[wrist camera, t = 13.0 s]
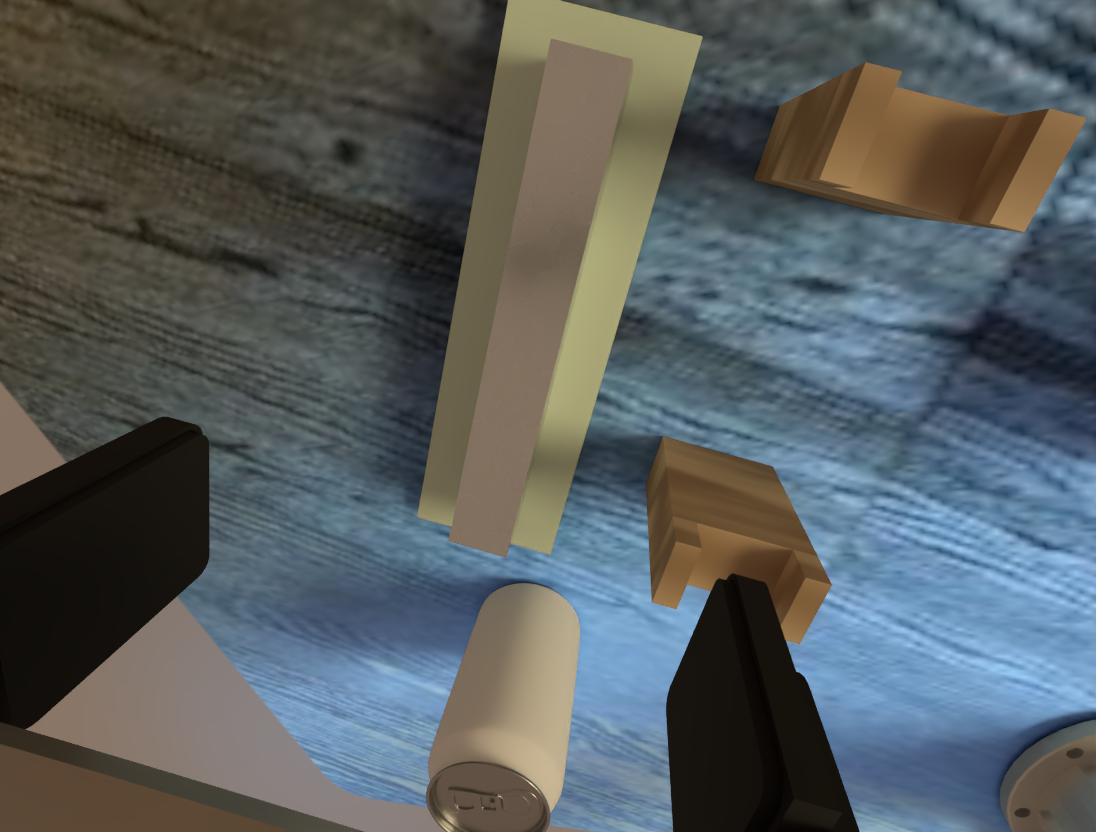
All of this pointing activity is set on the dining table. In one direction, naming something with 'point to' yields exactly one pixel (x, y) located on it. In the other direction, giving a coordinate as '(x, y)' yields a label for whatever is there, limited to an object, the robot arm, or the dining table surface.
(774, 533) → the post
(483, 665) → the can
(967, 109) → the post
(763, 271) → the dining table surface
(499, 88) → the mat
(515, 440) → the rail
